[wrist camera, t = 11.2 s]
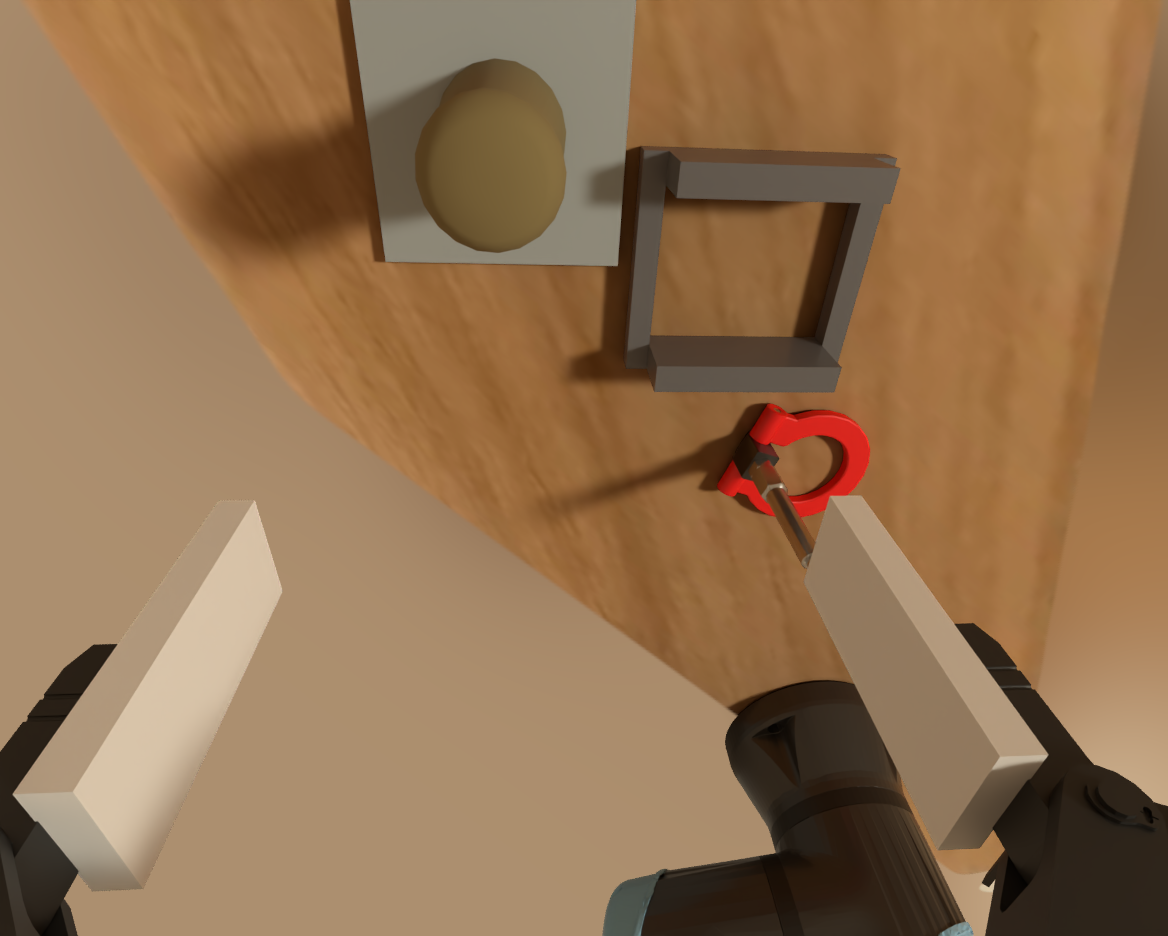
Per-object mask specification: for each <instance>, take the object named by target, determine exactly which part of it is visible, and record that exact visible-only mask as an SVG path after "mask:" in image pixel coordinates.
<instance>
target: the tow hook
mask: <svg viewBox="0 0 1168 936" xmlns="http://www.w3.org/2000/svg"><path fill="white" fill-rule="evenodd" d="M813 435H824V436H828V437H832V438H834V439H836V440H838V441H839V442H841V444H842V447H843V451H844V453H843V461H842V464H841V467H840V469H839V470H838V472H837V473H836V475H835V476H834V477H833V478H832V479H831V480H830V481H829V482H828V483H827V484H826V485H824V486H823V487H821V488H819V489H818V490H816V491H813V492H811V493H809V494H805V495H800V496H788V495H787V493H788V489H787V487H786V486H785V484H784V482H783V481H782V479H781V477H780V476H779V474H778V472H777V470H776V469H775V467H774V466H775V464H776V463H777V461H778V460H779V457H778V455H777V454H776V452H775V451H774V449H773V447H772V446H771V444H770V443H773V444H776V445H780V446H787V445H789V444H790V443H792V442H794V441H796V440H798V439H801V438H804V437H808V436H813ZM869 456H870V447H869V443H868V439H867V436H866V435H865V434H864V432H863V431H862V429H861V428H860V427H859V425H858V424H857V423H856V422H855V421H853V420H852V419H850V418H849V417H847V416H846V415H844V414H841V413H837V412H833V411H830V410H813V411H808V412H804V413H799V414H795V415H792V414H789V413H786V412H785V411H784V410H783V409H782V408H780V407H779V406H777V405H774V404H767V406H766V408H765V409H764V411H763V412H762V414H761V416H760V417H759V419H758V420H757V422H756V423H755V425H754V427H753V428H752V430H751V431H750V432H748V433H747V435H746V436H745V438H744V439H743V441H742V443H741V444H740V446H739V447H738V449H737V451H736V452H735V454H734V455H733V460H732V462H731V463H730V465H729V466H728V468H727V470H726V471H725V473H724V474H723V476H722V477H721V479H720V481H719V482H718V484H717V487H718V489H719V490H720V491H721V492H722V493H724V494H726V495H728V496H735V495H736V493H741V494H745V495H747V497H748V498H749V500H750V502H751V503H752V504H753V505H754V506H755V507H756V508H757V509H758V510H760V511H762V512H764V513H766V514H768V515H770V516H775V517H776V518H777V520H778V522H779V524H780V525H781V527H782V529H783V531H784V533H785V535H786V537H787V538H788V540H789V542H790V544H791V546H792V548H793V549H794V551H795V553H796V555H797V557H798V559H799V561H800V562H801V564H802V566H803V567H804V568H806V569H808V566H809V563H810V560H811V556H812V553H813V550H814V546H815V543H816V542H815V541H814V539H813V537H812V536H811V534H810V532H809V531H808V529H807V527H806V525H805V524H804V522H803V520H802V519H801V517H805V516H809V515H814V514H816V513H818V512H821V511H823V510H826V507H827V504H828V500H829V497H830V496H847V495H848V494H849V493H850V492H851V491H852V490H853V489H854V488H855V487H856V485H857V484H858V483H859V481H860V480H861V479H862V477H863V476H864V473H865V471H866V468H867V466H868V463H869Z"/></svg>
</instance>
